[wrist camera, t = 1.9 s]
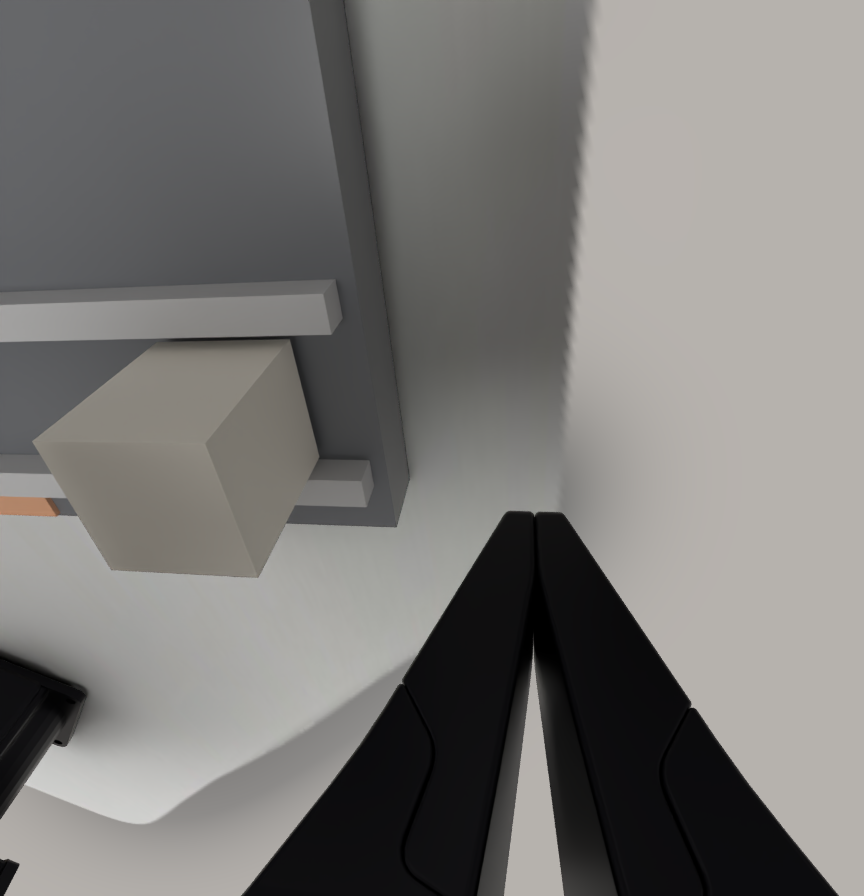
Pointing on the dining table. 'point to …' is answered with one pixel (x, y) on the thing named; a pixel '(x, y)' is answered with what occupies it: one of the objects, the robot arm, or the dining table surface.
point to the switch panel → (191, 224)
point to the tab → (188, 457)
